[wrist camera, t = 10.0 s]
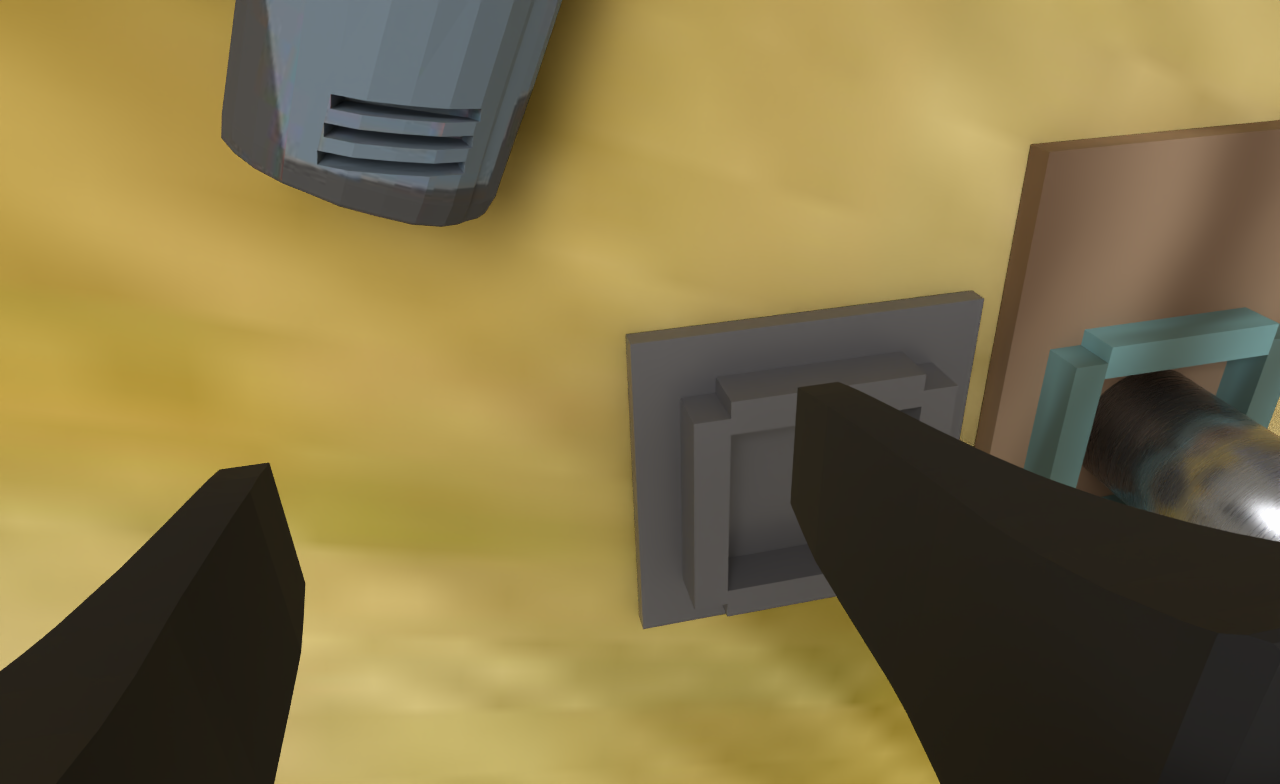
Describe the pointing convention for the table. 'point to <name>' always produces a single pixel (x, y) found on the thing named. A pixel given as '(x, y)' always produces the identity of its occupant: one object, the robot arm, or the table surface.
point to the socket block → (765, 439)
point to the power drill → (384, 99)
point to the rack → (1135, 285)
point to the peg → (1186, 455)
